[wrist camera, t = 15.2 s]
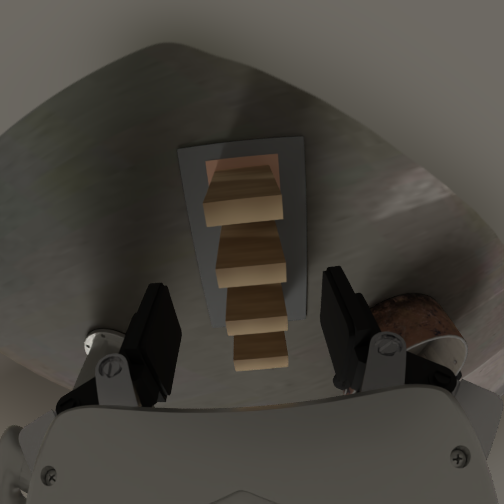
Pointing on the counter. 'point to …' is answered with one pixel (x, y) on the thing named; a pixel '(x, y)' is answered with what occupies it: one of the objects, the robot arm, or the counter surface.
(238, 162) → the mat
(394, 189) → the counter surface
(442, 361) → the cooking pot
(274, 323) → the domino
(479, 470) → the robot arm
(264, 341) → the domino
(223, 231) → the domino
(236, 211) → the domino
